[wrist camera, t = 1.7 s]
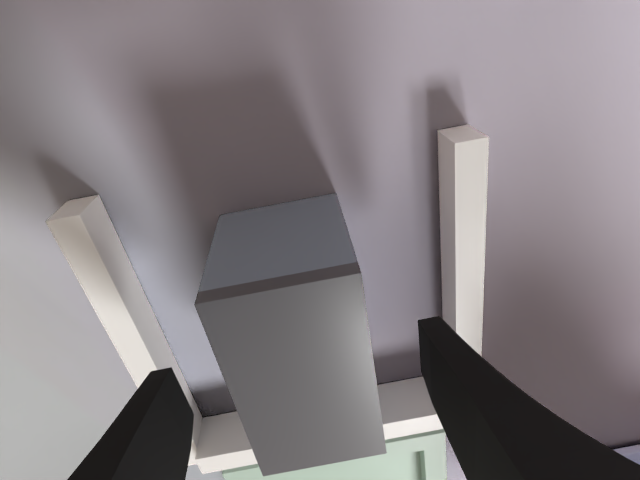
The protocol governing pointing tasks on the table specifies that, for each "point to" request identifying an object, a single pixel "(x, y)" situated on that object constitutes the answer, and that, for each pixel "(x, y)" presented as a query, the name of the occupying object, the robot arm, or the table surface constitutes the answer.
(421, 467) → the tray
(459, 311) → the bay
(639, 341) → the table surface
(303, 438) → the grey rectangular block
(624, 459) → the robot arm
